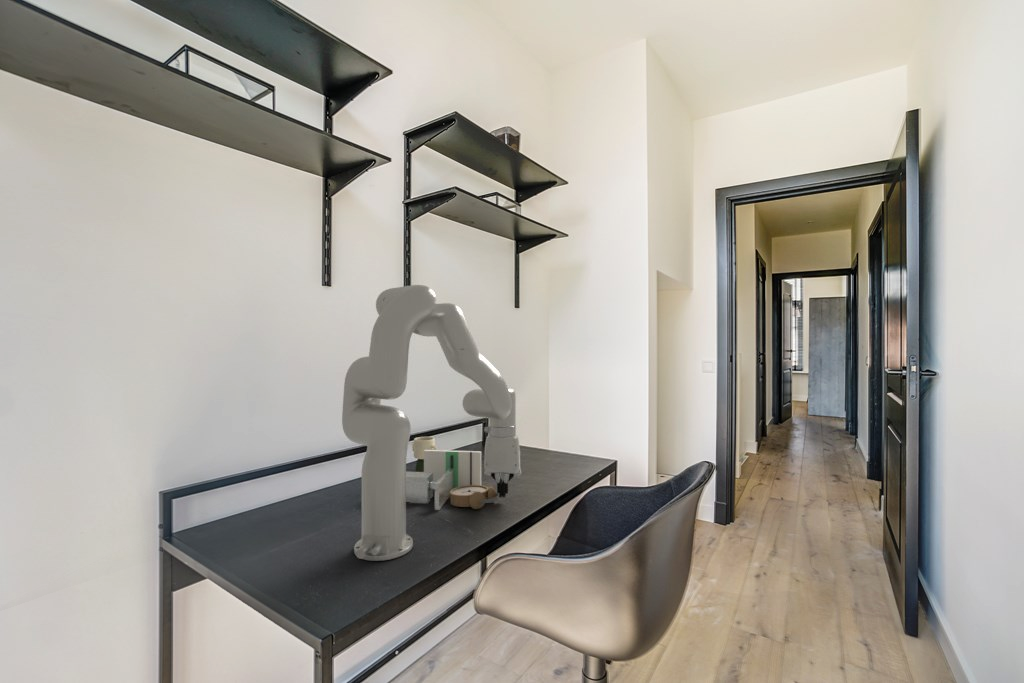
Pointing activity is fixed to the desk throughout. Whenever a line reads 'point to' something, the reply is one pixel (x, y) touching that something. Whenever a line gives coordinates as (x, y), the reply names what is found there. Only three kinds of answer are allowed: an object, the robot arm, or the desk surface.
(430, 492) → the block
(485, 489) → the alarm clock
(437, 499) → the grey t-shaped piece
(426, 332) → the robot arm
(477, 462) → the board
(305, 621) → the desk surface
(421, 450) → the character mug
